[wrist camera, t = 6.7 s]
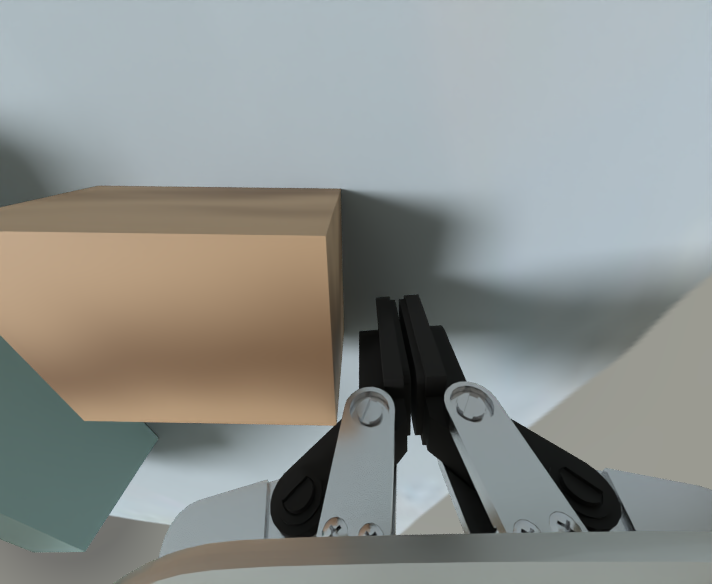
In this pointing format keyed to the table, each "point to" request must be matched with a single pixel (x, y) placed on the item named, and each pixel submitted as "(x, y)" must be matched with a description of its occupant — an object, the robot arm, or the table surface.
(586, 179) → the table surface
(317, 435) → the table surface
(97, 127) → the table surface
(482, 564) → the robot arm
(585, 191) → the table surface
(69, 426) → the board
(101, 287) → the block
